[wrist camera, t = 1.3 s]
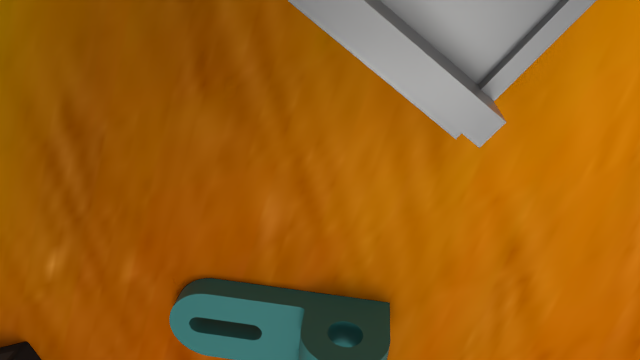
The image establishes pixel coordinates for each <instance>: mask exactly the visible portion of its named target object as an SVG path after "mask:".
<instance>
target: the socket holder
mask: <svg viewBox="0 0 640 360" xmlns="http://www.w3.org/2000/svg"><path fill="white" fill-rule="evenodd" d="M288 1H289V2H290V3H291V4H292V5H294V6H295V7H296V8H297V9H298V10H300V11H301V12H302V13H303V14H305V15H306V16H307V17H308V18H309V19H311V20H312V21H313V22H314V23H315V24H317V25H318V26H319V27H320V28H322V29H323V30H324V31H325V32H326V33H328V34H329V35H330V36H331V37H332V38H334V39H335V40H336V41H337V42H339V43H340V44H341V45H342V46H343V47H345V48H346V49H347V50H348V51H349V52H351V53H352V54H353V55H354V56H356V57H357V58H358V59H359V60H360V61H362V62H363V63H364V64H365V65H366V66H368V67H369V68H370V69H371V70H373V71H374V72H375V73H376V74H377V75H379V76H380V77H381V78H382V79H383V80H385V81H386V82H387V83H388V84H390V85H391V86H392V87H393V88H394V89H396V90H397V91H398V92H399V93H400V94H402V95H403V96H404V97H405V98H407V99H408V100H409V101H410V102H411V103H413V104H414V105H415V106H416V107H417V108H419V109H420V110H421V111H422V112H424V113H425V114H426V115H427V116H428V117H430V118H431V119H432V120H433V121H434V122H436V123H437V124H438V125H439V126H441V127H442V128H443V129H444V130H445V131H447V132H448V133H449V134H450V135H451V136H453V137H454V138H455V139H456V138H457V137H458V136H459V135H460V134H461V133H462V134H463V135H465V136H466V137H467V138H468V139H469V140H471V141H472V142H473V143H474V144H475V145H477V146H478V147H479V148H480V147H481V146H482V145H483V144H484V143H485V142H486V141H487V140H488V139H489V138H490V137H491V136H492V135H493V134H494V133H495V132H497V131H498V130H499V129H500V128H501V127H502V126H503V125H504V124H505V123H506V121H505V119H504V118H503V116H502V114H501V113H500V111H499V109H498V108H497V106H496V105H495V103H494V101H495V100H496V99H497V98H498V97H499V96H500V95H501V94H502V93H503V92H504V91H505V90H506V89H507V88H508V87H509V86H510V85H511V84H512V83H513V82H514V81H515V80H516V79H517V78H518V77H519V76H520V75H521V74H522V73H523V72H524V71H525V70H526V69H527V68H528V67H529V66H530V65H531V64H532V63H533V62H534V61H535V60H536V59H537V58H538V57H539V56H540V55H541V54H542V53H543V52H544V51H545V50H546V49H547V48H548V47H549V46H550V45H551V44H553V43H554V42H555V41H556V40H557V39H558V38H559V37H560V36H561V35H562V34H563V33H564V32H565V31H566V30H567V29H568V28H569V27H570V26H571V25H572V24H573V23H574V22H575V21H576V20H577V19H578V18H579V17H580V16H581V15H582V14H583V13H584V12H585V11H586V10H587V9H588V8H589V7H590V6H591V5H592V4H593V3H594V2H595V1H596V0H288Z"/></svg>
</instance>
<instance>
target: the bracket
mask: <svg viewBox="0 0 640 360" xmlns="http://www.w3.org/2000/svg"><path fill="white" fill-rule="evenodd" d="M170 326H171V329H172V331H173V333H174V335H175V336H176V337H177V339H178V340H179V341H180V342H181V343H182V344H183V345H185V346H186V347H188V348H189V349H191V350H193V351H195V352H197V353H200V354H203V355H207V356H213V357H220V358H227V359H234V360H387V356H388V351H389V346H390V303H388V302H381V301H374V300H366V299H359V298H352V297H344V296H337V295H330V294H323V293H315V292H308V291H301V290H294V289H286V288H279V287H272V286H264V285H257V284H250V283H243V282H235V281H228V280H221V279H212V278H206V279H199V280H196V281H193V282H191V283H190V284H188V285H187V286H186V287H185V288H184V289H183V290H182V292H181V293H180V295H179V297H178V299H177V301H176V302H175V304H174V306H173V308H172V310H171V312H170Z"/></svg>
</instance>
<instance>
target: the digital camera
mask: <svg viewBox="0 0 640 360" xmlns="http://www.w3.org/2000/svg"><path fill="white" fill-rule="evenodd" d="M0 360H41V359H40V358H39V356H38V355H37V354H36V352H35V351H34V350H33V348H32V347H31V346H30V344H29V343H28V342H24V343H19V344H15V345H10V346H6V347H2V348H0Z"/></svg>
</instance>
